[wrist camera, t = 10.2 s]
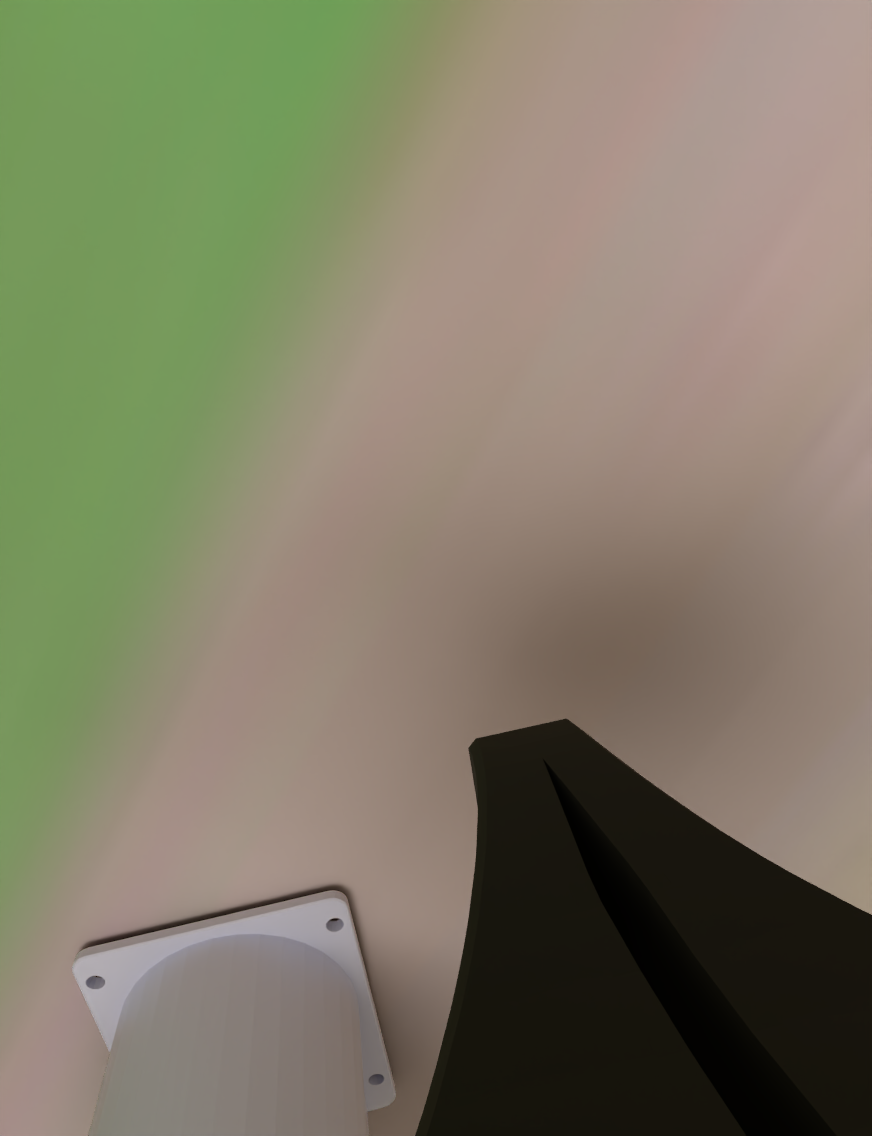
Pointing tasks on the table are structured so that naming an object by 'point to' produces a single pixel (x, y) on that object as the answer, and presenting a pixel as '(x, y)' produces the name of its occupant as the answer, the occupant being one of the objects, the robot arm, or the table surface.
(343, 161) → the table surface
